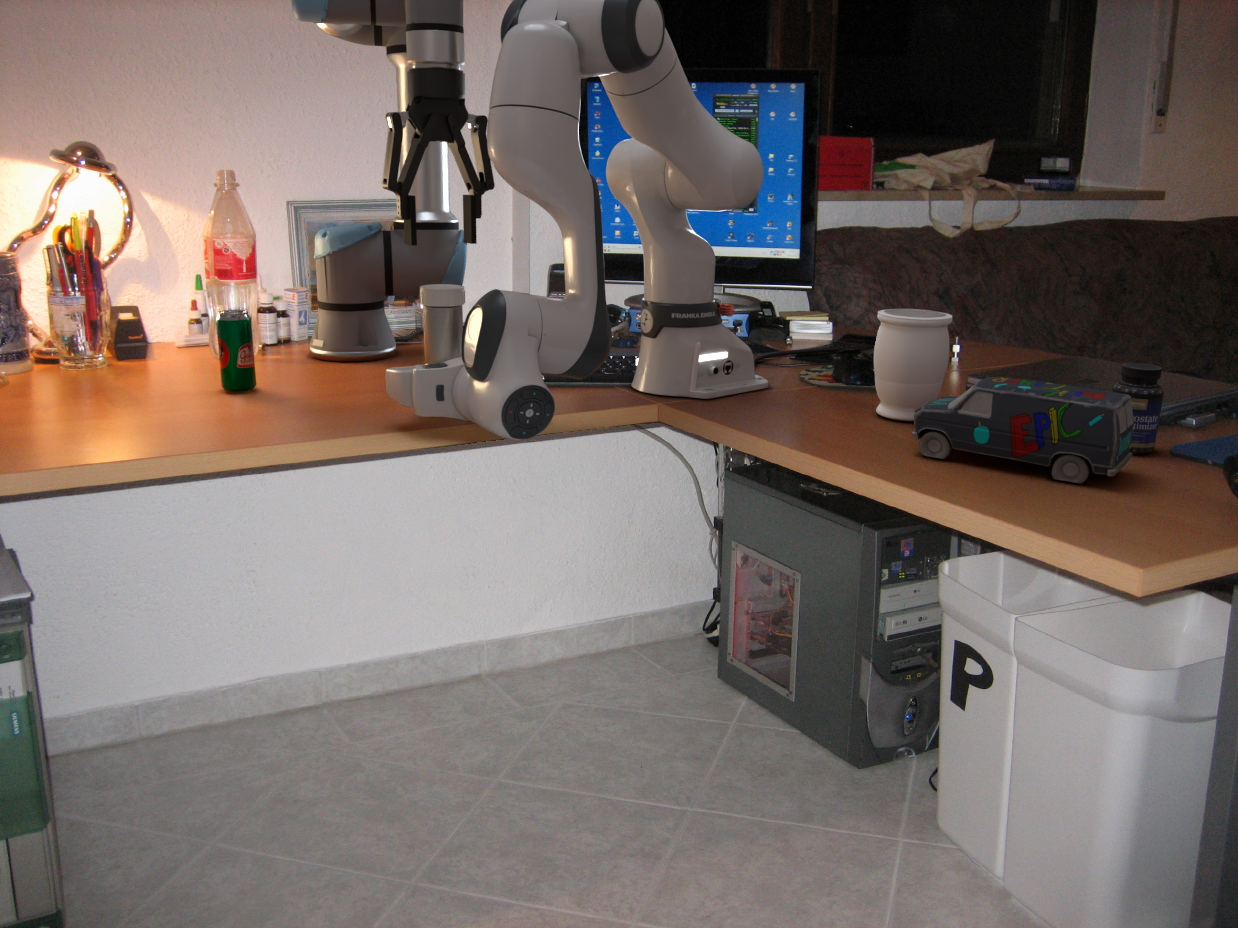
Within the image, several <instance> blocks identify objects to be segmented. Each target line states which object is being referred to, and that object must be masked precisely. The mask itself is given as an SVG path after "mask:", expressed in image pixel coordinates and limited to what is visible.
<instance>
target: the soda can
mask: <svg viewBox="0 0 1238 928" xmlns="http://www.w3.org/2000/svg"><path fill="white" fill-rule="evenodd" d="M252 323H253V322H252V317H251V316H250V315H249V311H248V310H247V309H224V310H219V311H217V316H216V318H215V325H216V337H217V349H218V362H219V371H220V373H219V374H220V382H221V383H220V384H221V388H222V389H223V390H224V391H225V392H228V393H244V392H246V393H247V392H250V391H253V390H254V389H255V388H256V386H257V375H256V361H255V347H254V335H253V324H252Z"/></svg>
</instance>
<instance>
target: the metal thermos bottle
mask: <svg viewBox="0 0 1238 928" xmlns="http://www.w3.org/2000/svg"><path fill="white" fill-rule="evenodd" d="M463 312H464V311H463V305H460V306H450V307H435V306H425V305H422V322H423V323H422V324H423V329H424V333H423V352H424V357H423V358H424V365H430V364H436V363H442V362H446V361H449V360H451V359H455V358H460V357H461V356H462V353H461V342H462V333H463V326H464V315H463V314H464V313H463Z"/></svg>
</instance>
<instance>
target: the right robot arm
mask: <svg viewBox="0 0 1238 928" xmlns="http://www.w3.org/2000/svg"><path fill="white" fill-rule="evenodd" d="M499 32H500V44H501V46H500V49H499V53H498V55H497V61H496V65H495V68H494V75H493V79H492V84H491V90H490V97H489V105H488V115H487V119H488V123H487V130H486V137H487V148H488V154H489V157H490V160H491V165H493V166H492V167H494V169H495V171H496V172H497V173H498V175H499V176H500V177H501V178H502V180H503V181H505V182H506V183H507V184H508V186H510V187H511V188H513V190H514V191H516V192H518V193H520V195H522V196H524V197H526V198H527V199H529V200H531V201H532V202H533V203H535V204H537V206H539V207H541V208H542V209H543V210H544V211H546V212H547V214H549V216H551V217H552V219H553V220H554V221H555V222H556V224H557V226H558V228H559V230H560V233H561V238H562V248H563V249H562V251H563V253H562V254H563V269H564V270H563V271H564V272H563V273H564V287H565V288H564V289H565V294H564V297H563V298H559V297H555V296H554V297H553V296H545V295H538V294H532V293H531V294H530V293H528V292H521V291H514V290H506V289H499V288H498V289H497V288H494V289H492V290H490V291H488V292H486V293H485V294H483V295H482V296H481V297H480V298H479V299H478V300H477V301H476V303H475V304H474V305H473V306H472V307H471V309H470V310H469V311H468V312H467V314H466V317H465V320H464V322H463V326H464V327H463V333H462V342H461V353H462V356H461V357H460V358H455V359H451V360H449V361H446V362H442V363H436V364H430V365H425V364H415V365H409V366H399V367H398V366H397V367H389V368H387V369H386V370H385V375H384V381H385V391H386V394H387V397H389V398H390V399H392V400H393V401H394V402H397V403H398V404H399V405H401V406H403V407H405V408H409V409H413V410H414V414H415V415H416V416H418V417H421V418H444V419H445V418H449V419H456V420H461V421H466V422H468V421H470V422H471V423H474V424H477V425H478V427H480V428H481V429H483V430H485V431H487V432H489V433H490V434H493V435H495V436H498V437H500V438H503V439H506V440H511V441H524V440H529V439H532V438H535V437H537V436H538V435H539V434H541V433H543V431H545V430H546V429H548V426H549V425H550V424H551V423H552V421H553V418H554V416H555V413H556V400H555V398H554V395H553V393H552V391H551V390H550V388H549V387H548V385H547V384H546V383H545V377H544V375H543V374H551V375H554V376H557V377H563V378H569V379H574V380H579V381H580V380H584V379H586V378H588V377H590V376H591V375H592V374H593V373H595V372H596V371H597V370H599V368H601V367H602V366H603V364H605V362H606V361H607V359H608V358H609V356H610V353H611V349H612V343H613V336H612V335H613V334H612V333H613V332H612V326H611V319H610V315H609V310H608V305H607V296H606V279H605V278H606V276H605V255H604V235H603V234H604V233H603V218H602V217H603V216H602V203H601V196H600V189H599V184H598V181H597V179H596V177H595V176H594V175H593V173H591V171H590V170H589V169H588V168H587V165H586V163H585V160H584V157H583V153H582V149H581V144H580V134H579V132H580V131H579V129H580V128H579V127H580V116H581V115H580V114H581V99H582V98H581V96H582V93H581V92H582V91H581V89H582V88H581V87H582V86H581V85H582V83H581V82H582V81H581V80H586V79H588V78H596V77H599V79H600V81H601V84H602V86H603V88H604V90H605V93H606V96H607V97H608V99H609V101H610V104H611V106H612V108H613V110H614V112H615V115H616V118H617V119H618V121H619V123H620V125H621V127H622V129H623V130H624V131H625V132H626V134H627V135H628V136H630V137H631V138H629V139H628V138H627V139H623V140H621V141H619V142H618V143H617V144H616V145H614V147H613V148H612V149H611V151H610V154H609V156H608V158H607V161H606V167H605V177H606V183H607V187H608V188H609V190H610V192H611V194H612V196H613V197H614V198H615V199H616V200H617V201H618V202H619V203H620V204H621V205H622V206H623V207H624V208H625V209H626V210H627V212H628V214H629V215H630V217H631V219H632V220H633V223H634V225H635V227H636V230H637V232H638V235H639V239H640V242H641V247H642V255H643V298H642V299H641V301H640V315H639V316H640V319H639V320H640V321H639V323H640V334H641V337H640V344H639V345H640V346H639V353H638V358H636V359H635V366H636V368H635V372H634V376H633V379H632V382H631V384H630V385H631V387H632V388H633V389H634V390H637V391H639V392H642V393H646V394H651V395H658V396H668V397H669V396H670V397H684V398H694V399H702V400H708V399H709V400H710V399H714V398H721V397H726V396H731V395H736V394H742V393H747V392H753V391H759V390H763V389H767V388H769V381H768V379H766V378H764V377H763V376H761V375H758V374H756V367H755V365H756V363H757V362H759V361H763V360H766V359H770V358H775V357H783V356H794V355H806V354H820V353H822V354H823V353H836V351H838V350H842V349H846V348H858V347H859V348H860V347H864V345H860V344H858V345H859V346H852V345H850V346H851V347H843V346H840V347H841V348H829V347H823V348H824V349H819V348H820V347H815V348H801V349H800V348H798V349H787V350H779V351H773V352H772V351H771V352H766V353H762V354H759V355H756V356H754V353H753V351H752V348H751V347H750V346H749V345H748V344H747V343H745V342H744V341H743V340H742V339H741V338H739V337H738V335H736V334H735V333H734V332H732V331H731V330H730V329H729V328H728V327H727V326H726V325H725V324H723V319H722V316H725V317H728V318H731V317H733V316H734V314H735V313H736V312H735V311H736V306H735V305H734V304H733V303H727V302H723V303H721V304H720V303H719V302H718V301H717V300H715V299H714V297H715V280H716V279H715V277H716V254H715V251H714V249H713V247H712V246H711V244H710V243H709V242H708V241H707V240H706V239H705V238H704V237H702V236H700V235H699V234H697V233H696V232H695V230H694V229H693V228H692V226H691V223H690V222H689V219H688V214H687V211H698V212H699V211H701V212H725V211H731V210H736V209H741V208H742V209H743V208H746V207H748V206H750V205H751V204H752V203H753V202H754V201H755V199H756V198H757V197H758V196H759V193H760V191H761V189H762V186H763V183H764V182H763V181H764V176H765V170H764V169H765V168H764V162H763V159H762V157H761V154H760V152H759V151H758V149H757V147H756V146H755V145H754V144H753V143H752V142H750V141H748V140H746V139H744V138H742V137H740V136H738V135H736V134H735V133H733V132H732V131H730V130H729V129H727V128H726V127H725V126H724V125H722V124H721V123H720V122H719V121H718V120H717V119H716V118H715V117H714V116H712V114H711V113H710V112H709V111H708V110H707V109H706V108H705V107H704V106H703V104H702V103H701V102H700V101H699V99H698V98H697V96H696V95H695V93H694V91H693V89H692V86H691V85H690V82H689V80H688V77H687V76H686V74H685V71H684V68H683V66H682V64H681V61H680V59H679V57H678V56H679V55H678V53H677V50H676V48H675V46H674V43H673V41H672V39H671V36H670V34H669V32H668V30H667V28H666V24H665V16H664V12H663V7H662V5H661V3H660V2H659V0H512V1H511V2H510V3H509V5H508V7H507V8H506V11H505V13H504V14H503V17H502V20H501V25H500V31H499ZM873 334H876V335H877V332H876V331H875V332H873ZM838 352H839V351H838Z"/></svg>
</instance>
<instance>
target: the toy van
mask: <svg viewBox="0 0 1238 928" xmlns="http://www.w3.org/2000/svg"><path fill="white" fill-rule="evenodd" d="M1134 427H1135V426H1134V418H1133V410H1132V401H1131V396H1129V395H1127V394H1121V393H1115V392H1112V391H1108V390H1103V389H1102V390H1100V389H1094V388H1089V387H1081V386H1076V385H1068V384H1061V383H1054V382H1047V381H1042V380H1041V381H1040V380H1032V379H1026V378H1025V379H1024V378H1016V377H1015V378H1014V377H1003V376H989V377H985V378H982V379H981V380H979V381H977V382H976V383H975V384H974V385H972V386H971V387H970V388H969V389H967V390H966V391H964V392H963V393H962V394H960V395H959V396H950V395H946V396H942V397H939V398H937V399H936V400H934V401H931V402H929V403H926V404H924V405H923V406H921V407H919V408H918V409H916V410H915V414H914V421H913V431H912V432H911V435H912V438H913V440H914V441H918V449H919V450H918V451H919V452H920V453H921V455H922V456H925V457H931V458H937V459H942V460H945V459H947V458H948V457H949V456H950V455H951V452H952V449H953V450H958V451H963V452H969V453H974V454H979V455H984V456H990V457H991V456H992V457H997V458H1002V459H1008V460H1013V461H1017V462H1018V461H1019V462H1024V463H1028V464H1034V465H1039V466H1043V467H1044V466H1045V467H1051V466H1052V467H1051V476H1052V479H1053V480H1058V481H1062V482H1068V483H1074V484H1083V483H1084V482H1086V481H1087V480H1088V479H1089V475H1090V473H1091V472H1092V474H1095V475H1105V476H1107V477H1115V475H1116V474H1118V473H1119V472H1120V471H1121V470H1122V469H1123V468H1125V466H1126V464H1127V463H1129V462H1130V460H1131V458H1132V456H1133V455H1134V453H1131V452H1129V451H1130V448H1131V441H1132V436H1133V430H1134ZM1090 471H1091V472H1090Z"/></svg>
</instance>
